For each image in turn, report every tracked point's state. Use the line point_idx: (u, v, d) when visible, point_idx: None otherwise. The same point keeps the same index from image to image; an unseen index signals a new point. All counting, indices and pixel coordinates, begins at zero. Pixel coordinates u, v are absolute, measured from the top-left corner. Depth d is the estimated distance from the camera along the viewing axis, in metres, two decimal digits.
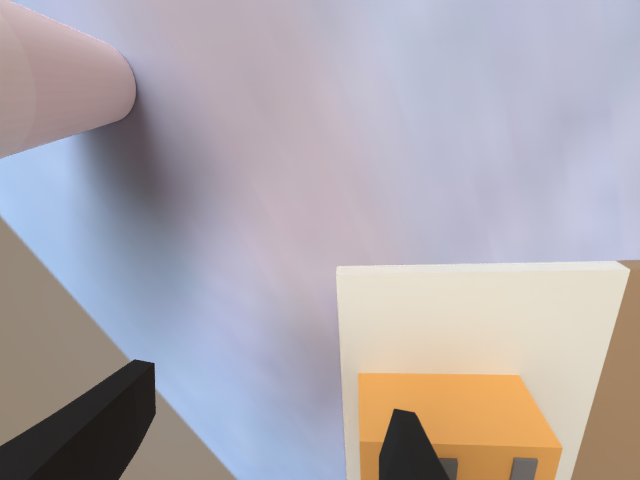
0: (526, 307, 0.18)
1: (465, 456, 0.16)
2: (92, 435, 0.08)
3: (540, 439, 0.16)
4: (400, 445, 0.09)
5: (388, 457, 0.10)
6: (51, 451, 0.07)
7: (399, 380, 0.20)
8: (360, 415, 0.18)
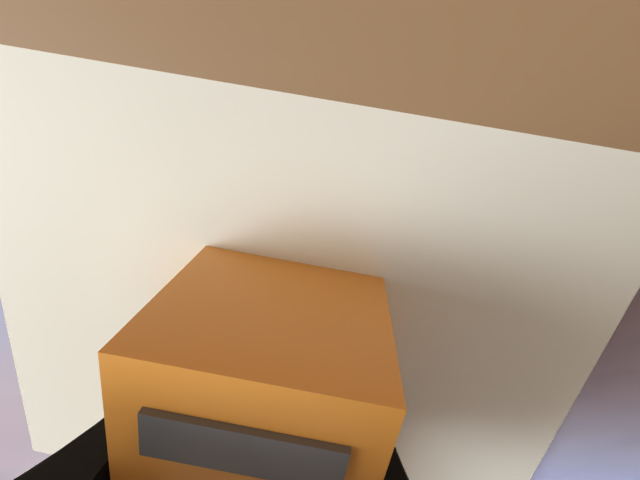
0: (53, 225, 0.10)
1: None
2: None
3: None
4: None
5: None
6: (101, 461, 0.07)
7: None
8: None
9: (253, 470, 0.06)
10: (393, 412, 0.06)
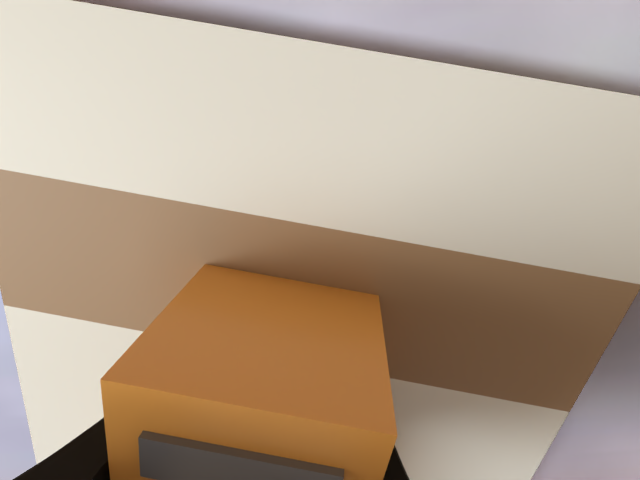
0: (80, 419, 0.13)
1: None
2: None
3: None
4: None
5: None
6: (101, 461, 0.07)
7: None
8: None
9: None
10: (384, 437, 0.06)
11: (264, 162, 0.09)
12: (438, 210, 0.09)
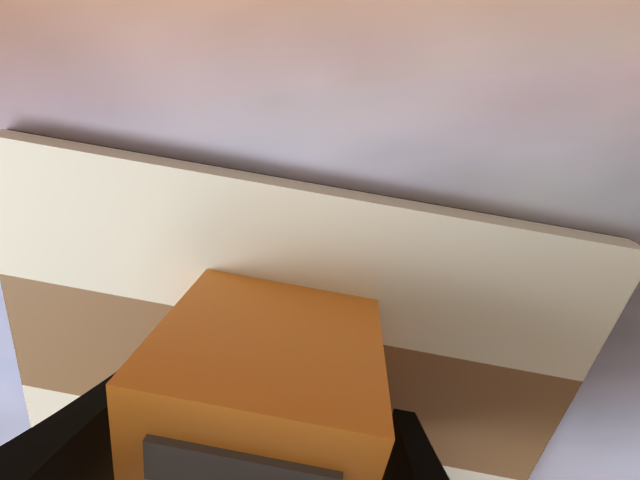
0: None
1: None
2: (92, 435, 0.08)
3: None
4: (400, 445, 0.09)
5: None
6: (51, 451, 0.07)
7: None
8: None
9: None
10: (382, 441, 0.06)
11: None
12: (403, 319, 0.10)
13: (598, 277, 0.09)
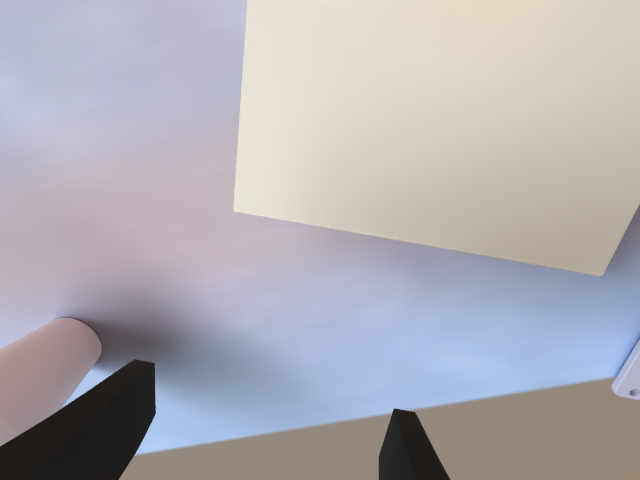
0: None
1: None
2: (92, 435, 0.08)
3: None
4: (400, 445, 0.09)
5: (388, 457, 0.10)
6: (51, 451, 0.07)
7: None
8: None
9: None
10: None
11: None
12: None
13: None
